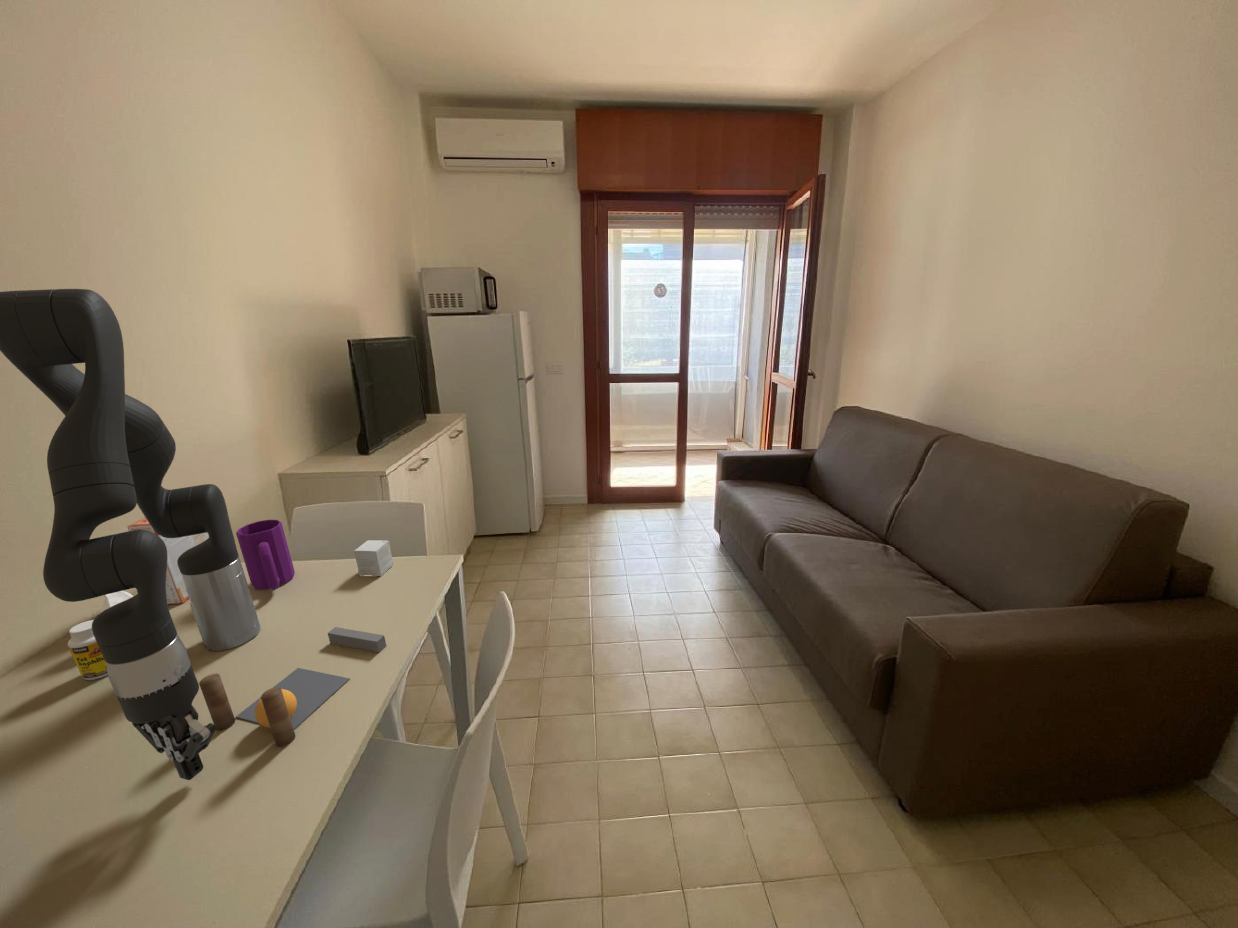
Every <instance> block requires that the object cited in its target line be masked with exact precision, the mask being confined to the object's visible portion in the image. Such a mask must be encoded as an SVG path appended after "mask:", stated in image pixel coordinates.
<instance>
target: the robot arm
mask: <svg viewBox="0 0 1238 928" xmlns="http://www.w3.org/2000/svg"><path fill="white" fill-rule="evenodd" d="M123 339H124V338H123V335H122V329H121V326H120V323H119V320H118V319H117V316H116V314H115V312H114V310H113V309H112V307H111V306H110V304H109V303H108V302H107V300H106V299H105V298H104V297H103V296H102V295H100V294H99V293H98V292H96V291H94V290H91V289H87V288H57V289H31V290H30V289H29V290H24V289H23V290H9V291H8V290H6V291H0V352H1V353H2V355H4V357H5V358H6V359H7V360H8V361H9V362H10V363H12V365H13V366H14V367H15V368H16V369H17V370H18V371H19V372H21V374H23V375H24V377H26V378H27V379H28V380H29V381H30V383H32V384H33V385H34V386H35V387H36V388H38V390H39V391H41V393H42V394H44V396H46V397H47V399H49V400H50V401H51V402H52V403H53V404H54V405H55V406H56V407H57V408H58V409H59V410H60V411H61V413H62V414H63V415H64V417H63V419H62V420H61V422H60V423H59V425H58V427H57V429H56V430H55V432H54V433H53V436H52V438H51V440H50V442H49V446H48V448H47V456H46V465H47V466H46V467H47V471H48V472H47V473H48V477H49V482H50V488H51V494H52V499H53V504H54V511H53V512H54V514H53V521H52V527H51V535H50V539H49V543H48V547H47V550H46V554H45V558H44V563H43V568H42V569H43V571H42V576H43V582H44V585H45V587H46V588H47V590H48V591H49V592H50V594H51V595H53V596H54V597H55V598H57V599H59V600H61V601H63V602H64V601H65V602H69V603H70V602H71V603H72V602H73V603H75V602H81V601H87V600H90V599H95V598H99V597H102V596H104V595H107V594H111V593H115V592H119V591H128V590H130V589H136V592H137V593H136V594H135V595H132V596H133V597H131V598H130V599H127V600H125V601H123V602H121V603H118V604H116V605H114V606H112V607H110V608H108V609H106V610H104V611H103V612H101V613H100V612H99V613H98V614H97V615H96V616H95V618H94V619H92V620H93V622H92V631H93V635H94V637H95V640H96V642H97V644H98V646H99V648H100V651H101V653H102V655H103V658H104V660H105V663H106V667H107V673H108V675H107V676H108V679H109V682H110V685H111V686H112V689H113V692H114V694H115V696H116V698H117V701H118V703H119V705H120V707H121V710H122V712H123V714H124V718H125V719H126V720H127V721H128V722H130V723H131V724H132V726H133V727H134V728H135V729H136V730H137V731H138V732H139V734H141V736H142V737H143V738H145V739H146V741H147V742H148V743H149V744H150V745H151V746H152V747H153V748H154V749H155V750H156V752H157V753H159V754H163V753H164V752H165V755H166V757H167V758H168V759H169V760H172V761H173V763H174V764H173V765H174V766H175V769H176V772H177V773H178V777H179V778H181V779H183V780H186V781H191V780H193V778H195V777H196V776H197V775H198V774H200V773H201V772H202V771H203V769H204V765H203V764H204V763H203V762H202V759H201V756H200V753H201V752H203V751H204V750H206V749H207V748H208V747H209V744H210V742H211V740H212V738H213V736H214V734H215V732H216V731H217V730H216V727H215V726H214V723H213V722H209V723H208V724H207V725H205V724H204V725H203V724H202V723H201V722H200V721H199V713H198V712H197V709H196V708H195V707H194V705H192V704H193V701H194V699H195V697H196V696H197V694H198V692H199V689H200V685H199V682H198V679H197V677H196V674H195V670H194V668H193V665H192V663H191V660H190V657H189V655H188V651H187V649H186V646H185V645H184V643H183V641H182V639H181V638H180V636H179V634H178V632H177V631H178V630H177V628H176V625H175V624H174V621H173V617H172V615H171V613H170V612H171V611H170V609H169V605H168V604H167V598H166V571H167V548H166V545H165V543H164V541H163V540H162V539H161V538H160V537H159V536H158V535H156V534H155V533H153V532H151V531H148V530H133V531H129V530H127V531H124V532H120V533H114V534H109V535H104V536H100V537H99V536H98V537H95V538H91V537H92V535H93V532H95V530H96V528H97V527H99V526H100V525H102V524H103V523H106V522H108V521H110V520H113V519H116V518H119V517H121V516H124V515H126V514H128V513H130V512H132V511H133V510H135V509H136V507H137V506H138V508H139V510H140V511H141V513H142V514H143V516H144V518H145V517H146V519H147V521H148V522H149V524H150V525H151V526H152V528H153V529H154V530H155V531H156V532H157V533H158V534H159V535H160V536H162V537H165V538H179V537H184V536H190V535H196V534H201V533H208V535H209V538H208V539H207V540H205V541H204V542H202V543H201V544H199V545H197V546H195V547H193V548H191V549H189V550H187V551H185V552H184V553H183V554H181V555H180V556H179V558H178V560H177V564H178V567H179V570H180V572H181V575H182V578H183V581H184V584H185V587H186V589H187V592H188V595H189V600H190V603H189V605H190V608H191V611H192V614H193V617H194V619H195V623H196V625H197V628H198V631H199V635H200V638H201V640H202V642H203V643H204V644H205V647H206V649H207V650H209V651H216V652H218V651H225V650H226V651H227V650H230V649H233V648H236V647H239V646H242V645H243V644H246V643H247V642H249V641H251V640H252V639H253V638H254V637H256V636H257V635H258V634H259V633H260V631H261V624H260V622H259V618H258V615H257V611H256V607H255V605H254V604H255V603H254V600H253V597H252V594H251V591H250V587H249V585H248V580H247V578H246V574H245V571H244V568H243V566H242V562H241V559H240V555H239V552H238V548H237V545H236V539H235V536H234V532H233V529H232V525H231V522H230V516H229V512H228V507H227V503H226V499H225V497H224V495H223V492H222V490H221V489H220V488H219V486H217V485H216V484H214V483H207V484H199V485H193V486H185V487H180V488H173V489H168V488H165V487H164V486H163V485H162V483H163V481H164V478H165V476H166V474H167V473H168V471H169V468H170V467H171V465H172V463H173V461H174V459H175V455H176V450H177V449H176V448H177V447H176V446H177V444H176V441H175V439H174V437H173V435H172V434H171V432H170V430H169V429H168V427H167V426H166V424H165V422H164V421H163V420H162V418H161V417H160V415H159V414H158V413H157V412H156V411H155V410H154V409H153V408H152V407H150V406H149V405H148V404H146V403H144V402H143V401H141V400H138V399H137V398H135V397H133V396H131V395H128V394H126V384H125V383H126V381H125V380H126V377H125V349H124V340H123ZM75 364H84V372H82V371H81V370H80V369H78V368H77V367H76V366H75Z"/></svg>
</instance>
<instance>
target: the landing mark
mask: <svg viewBox="0 0 1238 928" xmlns="http://www.w3.org/2000/svg"><path fill="white" fill-rule="evenodd" d="M349 681H351V678H350V677H345V676H339V675H334V674H330V673H325V672H320V671H315V670H311V669H306V668H301V667H297V668H296V669H294V670H293V671H292V672H291V673H289V674H288V675H287V676H285V677H284V678H283V679H281V681H279V682H278V683H277V684H275V685H274V686H273V687H272V688H275V687H279V688H281V689H285V690H288V691H290V692H292V693H293V694H294V696H295V697H296V700H297V707H296V710H295V712H294V714H293V716H292V717H291V718H290V720H291V723H292V726H293V729H294V731H295V730H296V729H297V728H298V727H299V726H300V725H302V724H303V722H305V721H306V720H307V719H308V718H309V717H311V715H312V714H314V713H315V712H316V711H317V710H318V709H319V708H320V707H321V706H322V705H324V704H325V702H327V701H328V700H329V699H330V698H331V697H332V696H334V695H335V694H336V692H338V691H339V690H340V689H341V688H342V687H343V686H344V685H345V684H347V682H349ZM260 699H261V696H259V698H257V700H255V701H254V702H252V704H250V705H249V706H248V707H246V708H245V709H243V710H242V711H241V712H240V713H238V714H237V715H236V716H235V719H236V718H237V719H240V720H244V721H248V722H250V723H251V722H252V723H255V724H259V723H258V721H257V720H256V717H255V709H256V706H257V704H258V702H259V701H260Z"/></svg>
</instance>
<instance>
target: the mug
mask: <svg viewBox="0 0 1238 928" xmlns="http://www.w3.org/2000/svg"><path fill="white" fill-rule="evenodd" d="M235 534H236V538H237V542H238V544H239V548H240V551H241V555H242V557H243V561H244V564H245V568H246V571H247V573H248V574H247V575H248V578H249V581H250V584H251V586H252V587H253V588H254V589H255V590H272V591H274V590H275V591H276V590H277V589H278V588H279V587H280V586H283V585H285V584H287V583H288V582H289V581H291V580H292V579H294V576H295V574H296V571H295V567H294V564H293V561H292V557H291V553H290V549H289V544H288V541H287V538H286V534H285V530H284V527H283V523H282V521H280V520H279V519H264V520H258V521H254V522H251V523H248V524H246V525H244V526H242V527H240V528H238V530H236V532H235Z"/></svg>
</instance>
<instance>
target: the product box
mask: <svg viewBox="0 0 1238 928" xmlns="http://www.w3.org/2000/svg"><path fill="white" fill-rule="evenodd" d="M391 551H392V550H391V547H390V541H389V540H380V539H379V540H378V539H377V540H371V539H367V540H366V541H365V542H364V543H362V544H361V545H360V546H359V547H357V548H356V549H355V550H354V551H353V553H354V556H355V557H354V558H355V561H356V564H357V565H356V566H357V570H358V571H357V572H358V575H359V576H360V575H372V576H371V577H377V576H381V577H383V576H384V575H385V574H386V573H387V572H388V571H389V570H390V569H391V568H392V567H393V566H394V560H393V556H392V552H391ZM391 566H392V567H391ZM390 567H391V568H390ZM389 568H390V569H389ZM388 569H389V570H388ZM386 571H387V572H386ZM383 574H384V575H383ZM382 575H383V576H382Z"/></svg>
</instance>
